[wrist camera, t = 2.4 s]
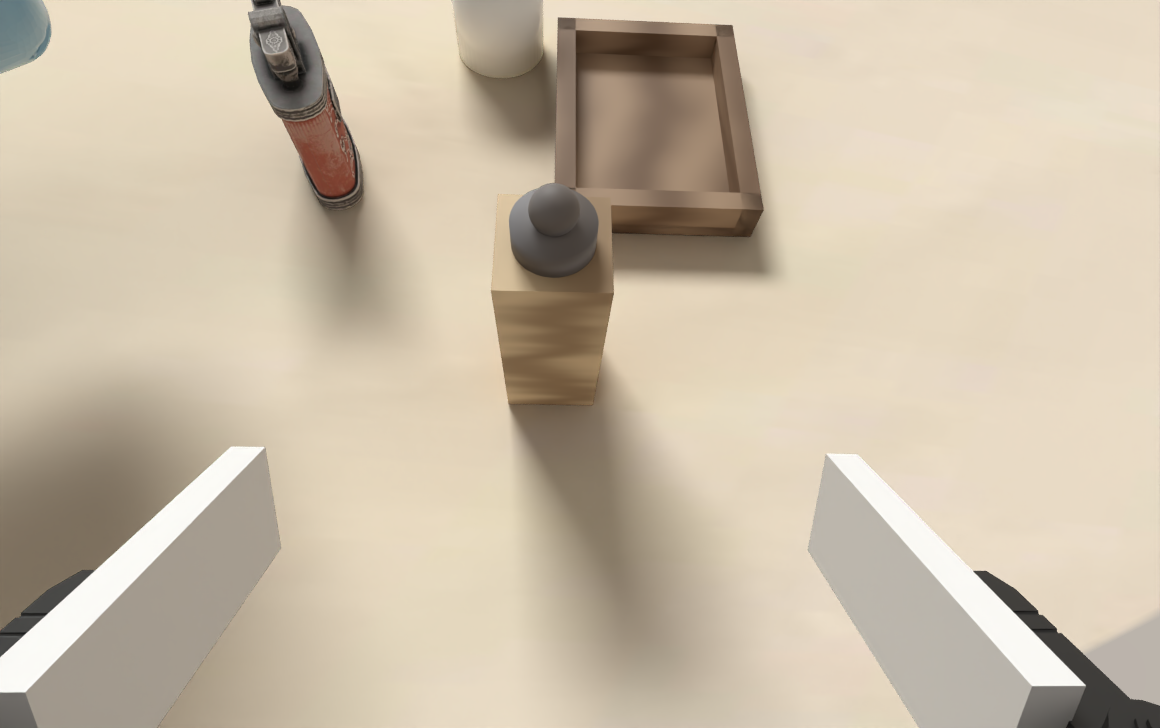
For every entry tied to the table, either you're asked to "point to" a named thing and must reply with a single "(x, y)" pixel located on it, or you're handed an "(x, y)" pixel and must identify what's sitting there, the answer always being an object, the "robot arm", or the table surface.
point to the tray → (656, 126)
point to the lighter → (305, 101)
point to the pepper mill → (552, 293)
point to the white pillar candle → (499, 35)
